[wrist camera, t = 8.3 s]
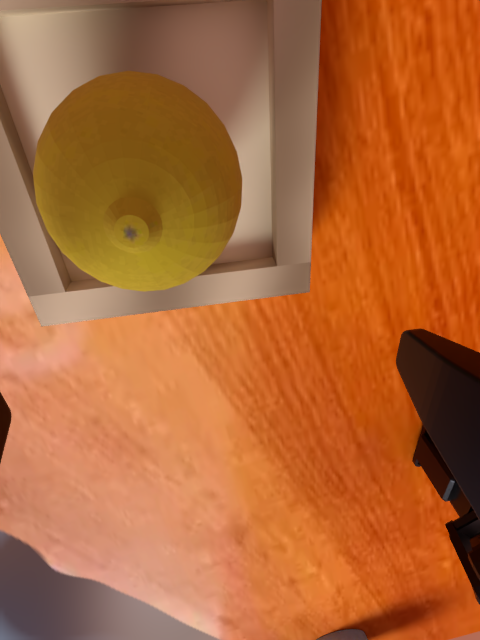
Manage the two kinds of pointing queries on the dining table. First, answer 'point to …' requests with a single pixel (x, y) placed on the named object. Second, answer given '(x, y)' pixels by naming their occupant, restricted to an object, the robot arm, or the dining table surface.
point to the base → (206, 82)
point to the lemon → (137, 181)
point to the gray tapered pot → (345, 635)
